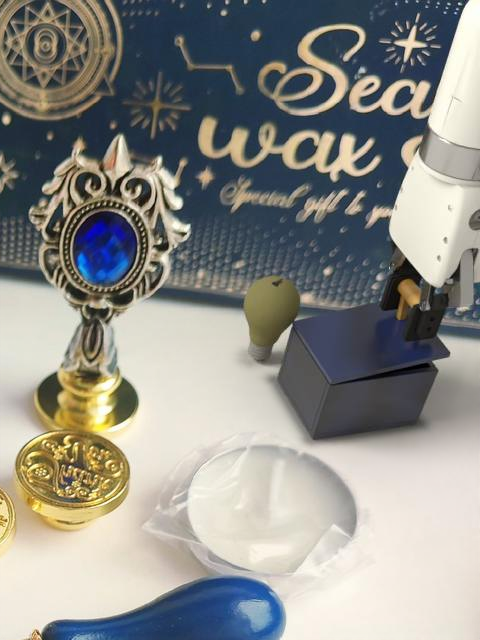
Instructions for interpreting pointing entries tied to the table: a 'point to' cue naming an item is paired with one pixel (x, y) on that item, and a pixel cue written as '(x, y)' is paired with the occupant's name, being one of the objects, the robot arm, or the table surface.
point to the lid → (367, 339)
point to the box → (352, 395)
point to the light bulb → (269, 313)
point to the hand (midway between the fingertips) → (407, 321)
